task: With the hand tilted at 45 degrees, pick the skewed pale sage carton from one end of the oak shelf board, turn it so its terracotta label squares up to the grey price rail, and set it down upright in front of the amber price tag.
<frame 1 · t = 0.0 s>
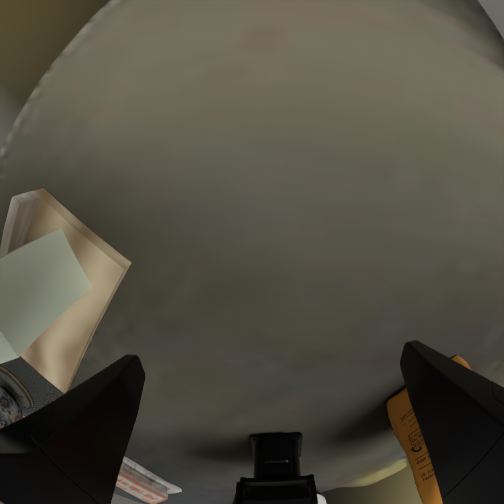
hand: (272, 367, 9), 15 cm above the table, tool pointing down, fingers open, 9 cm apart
packaged product: (132, 468, 39), on the table
coffee package: (428, 390, 28), on the table
shelf: (50, 307, 26), on the table
spread jar: (288, 496, 39), on the table
apothecary jar: (14, 386, 33), on the table
carton: (57, 268, 23), point 1 cm above the table, touching shelf
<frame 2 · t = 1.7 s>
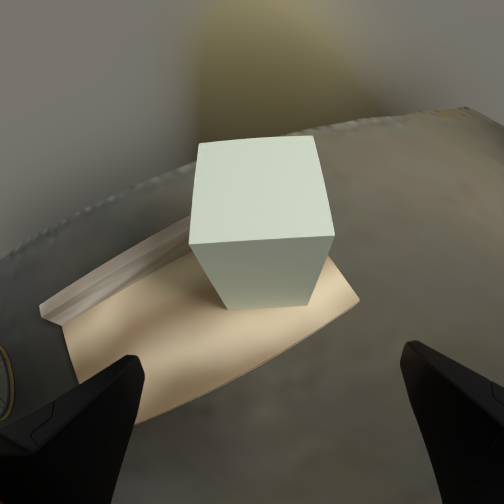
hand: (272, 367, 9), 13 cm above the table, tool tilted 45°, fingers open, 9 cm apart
shelf: (192, 318, 23), on the table
carton: (265, 271, 23), point 1 cm above the table, touching shelf
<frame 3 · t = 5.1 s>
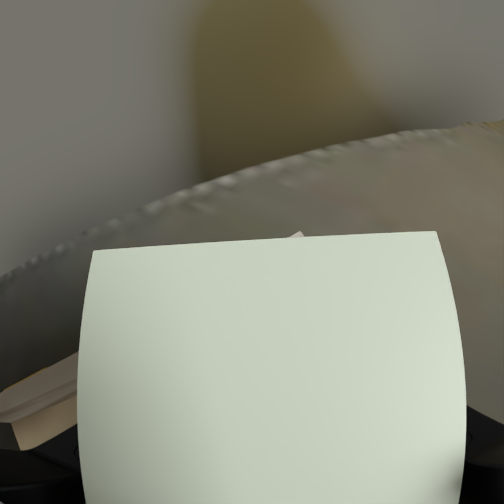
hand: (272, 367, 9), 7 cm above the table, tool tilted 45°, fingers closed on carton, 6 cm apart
shelf: (167, 446, 13), on the table
carton: (274, 399, 13), point 2 cm above the table, touching gripper, shelf
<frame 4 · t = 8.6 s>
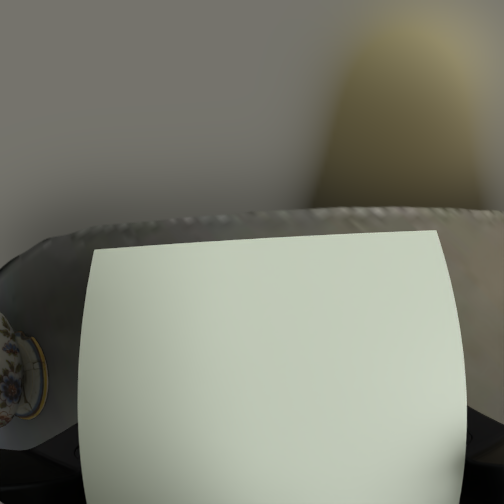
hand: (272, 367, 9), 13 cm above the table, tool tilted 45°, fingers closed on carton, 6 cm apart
apothecary jar: (22, 375, 21), on the table
carton: (274, 398, 13), point 7 cm above the table, touching gripper
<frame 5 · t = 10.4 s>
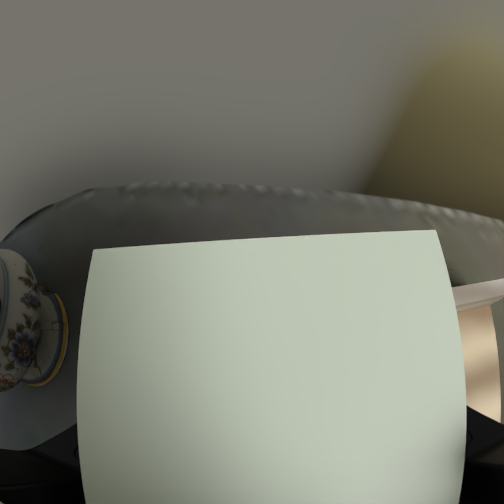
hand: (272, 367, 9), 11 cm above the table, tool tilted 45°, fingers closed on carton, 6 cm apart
shelf: (361, 398, 17), on the table
apothecary jar: (35, 335, 20), on the table
carton: (274, 398, 13), point 5 cm above the table, touching gripper
when the fingers open (8 cm above the table, at t = 12.0 s): carton stays where it is, resting on shelf.
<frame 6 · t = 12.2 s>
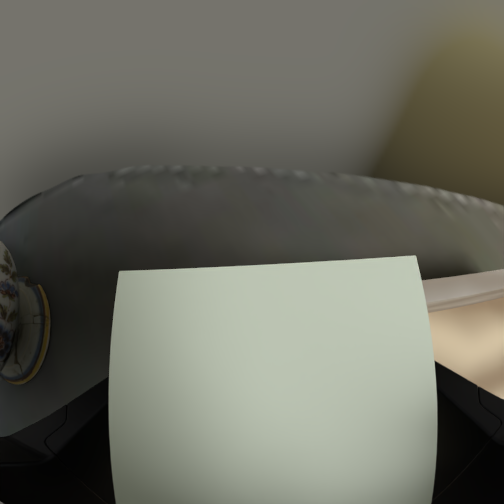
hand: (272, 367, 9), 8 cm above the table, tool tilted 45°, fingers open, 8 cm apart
shelf: (373, 400, 14), on the table
apothecary jar: (18, 330, 18), on the table
carton: (274, 397, 14), point 1 cm above the table, touching shelf
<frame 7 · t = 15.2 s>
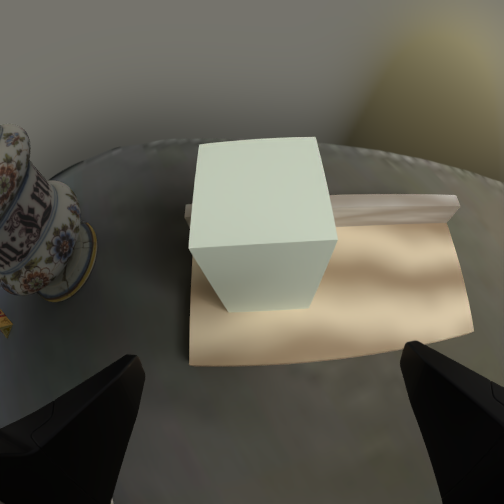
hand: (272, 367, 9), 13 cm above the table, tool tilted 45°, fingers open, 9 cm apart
shelf: (339, 286, 23), on the table
apothecary jar: (64, 260, 27), on the table
carton: (266, 273, 23), point 1 cm above the table, touching shelf
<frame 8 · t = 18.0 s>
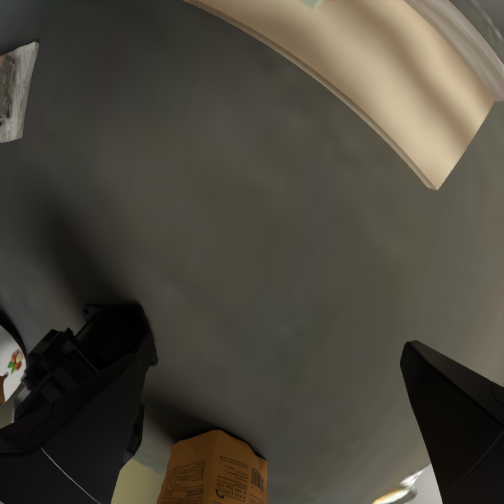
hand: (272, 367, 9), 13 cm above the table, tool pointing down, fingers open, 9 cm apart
coffee package: (222, 452, 31), on the table
shelf: (357, 27, 15), on the table
spread jar: (2, 330, 26), on the table
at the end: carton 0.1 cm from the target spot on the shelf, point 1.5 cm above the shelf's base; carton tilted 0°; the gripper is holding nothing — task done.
